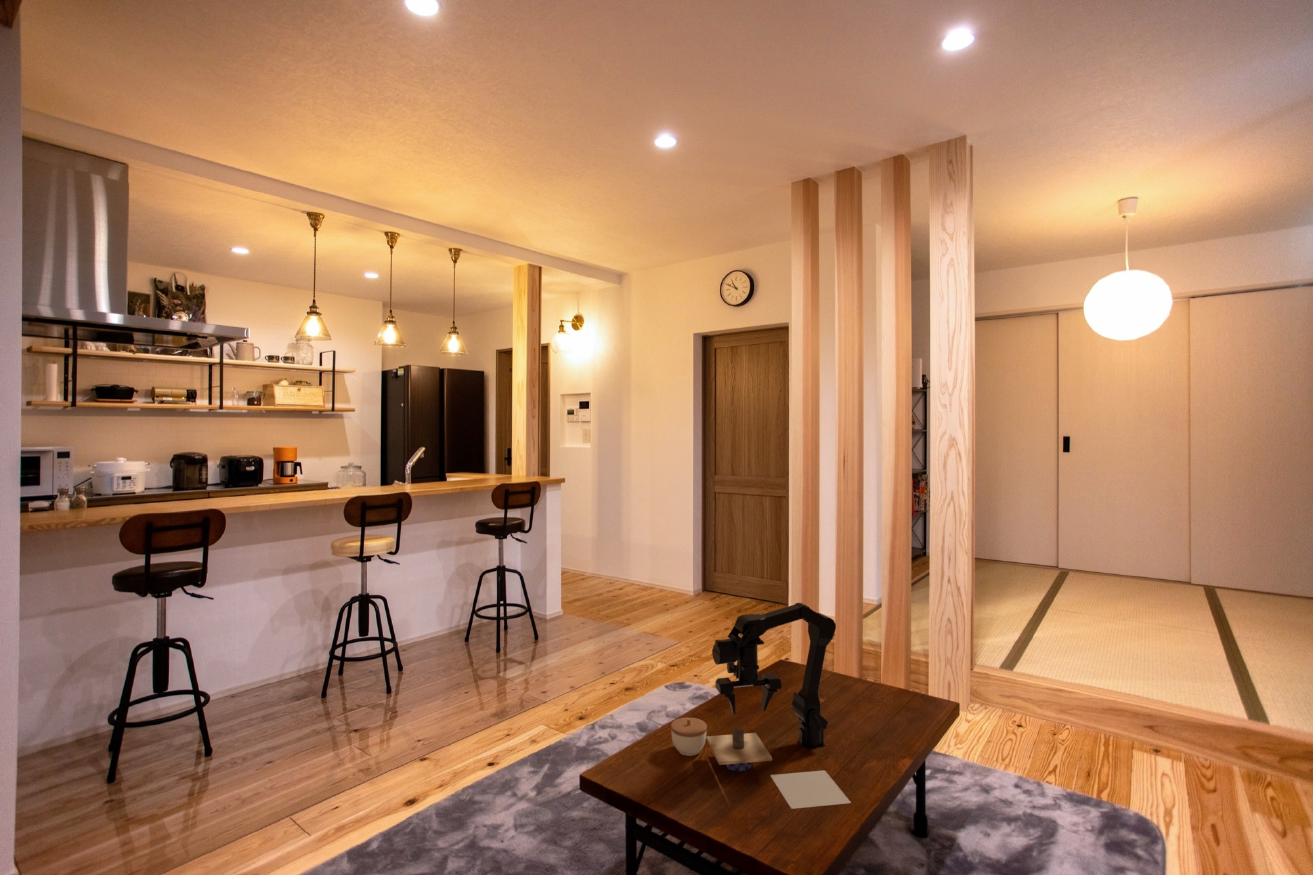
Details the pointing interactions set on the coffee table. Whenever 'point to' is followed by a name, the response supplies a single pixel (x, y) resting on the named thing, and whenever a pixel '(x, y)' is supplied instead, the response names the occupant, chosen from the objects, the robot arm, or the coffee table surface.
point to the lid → (738, 748)
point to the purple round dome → (739, 766)
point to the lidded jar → (688, 735)
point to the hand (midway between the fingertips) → (748, 712)
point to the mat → (809, 789)
